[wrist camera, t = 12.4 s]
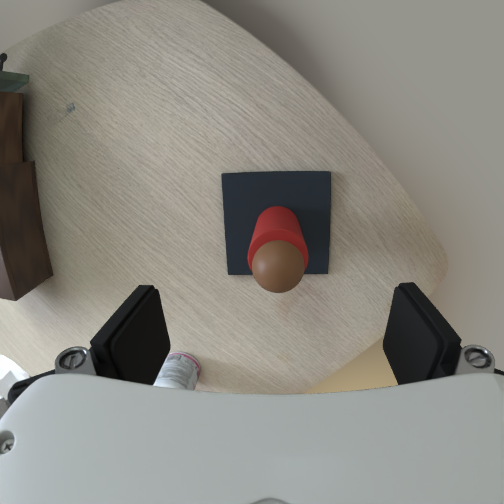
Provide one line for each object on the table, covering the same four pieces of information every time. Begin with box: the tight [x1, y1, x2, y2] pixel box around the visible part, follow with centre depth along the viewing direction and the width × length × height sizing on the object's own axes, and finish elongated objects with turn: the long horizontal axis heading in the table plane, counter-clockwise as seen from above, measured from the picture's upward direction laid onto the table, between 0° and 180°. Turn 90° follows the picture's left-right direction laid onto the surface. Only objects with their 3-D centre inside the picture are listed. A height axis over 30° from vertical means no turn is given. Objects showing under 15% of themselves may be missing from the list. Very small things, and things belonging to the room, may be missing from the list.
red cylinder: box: [248, 206, 308, 293], centre depth 21 cm, size 4×4×12 cm
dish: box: [0, 355, 30, 400], centre depth 40 cm, size 25×25×11 cm
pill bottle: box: [153, 352, 200, 390], centre depth 30 cm, size 5×5×8 cm
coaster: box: [222, 171, 331, 275], centre depth 27 cm, size 10×10×1 cm
